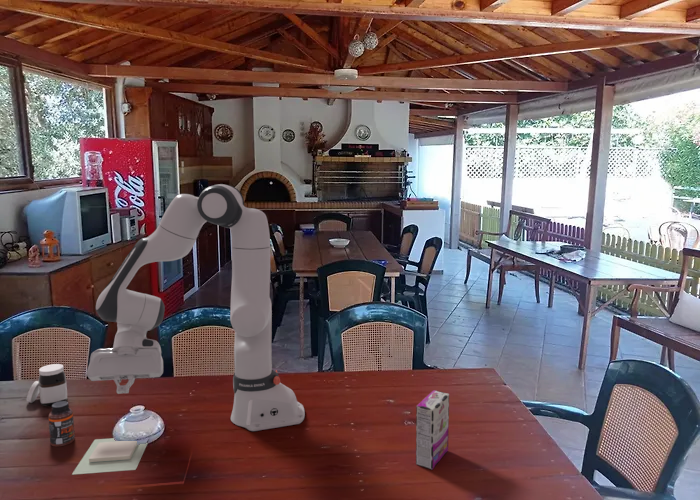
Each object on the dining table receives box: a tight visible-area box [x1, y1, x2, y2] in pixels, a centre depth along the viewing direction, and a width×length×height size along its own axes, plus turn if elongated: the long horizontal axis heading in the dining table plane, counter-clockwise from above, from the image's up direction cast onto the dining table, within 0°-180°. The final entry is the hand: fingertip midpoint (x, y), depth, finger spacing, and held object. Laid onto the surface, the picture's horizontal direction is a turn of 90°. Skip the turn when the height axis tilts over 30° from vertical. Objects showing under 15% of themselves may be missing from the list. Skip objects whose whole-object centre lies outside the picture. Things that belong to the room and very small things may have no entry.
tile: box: [89, 441, 137, 463], centre depth 136 cm, size 10×1×8 cm
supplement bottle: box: [48, 400, 76, 448], centre depth 142 cm, size 6×6×11 cm
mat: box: [71, 437, 149, 476], centre depth 136 cm, size 15×17×1 cm
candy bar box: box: [415, 389, 450, 470], centre depth 135 cm, size 11×5×16 cm, turn 148°
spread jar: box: [26, 363, 68, 407], centre depth 167 cm, size 12×11×12 cm
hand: (122, 392), depth 144 cm, fingers closed
